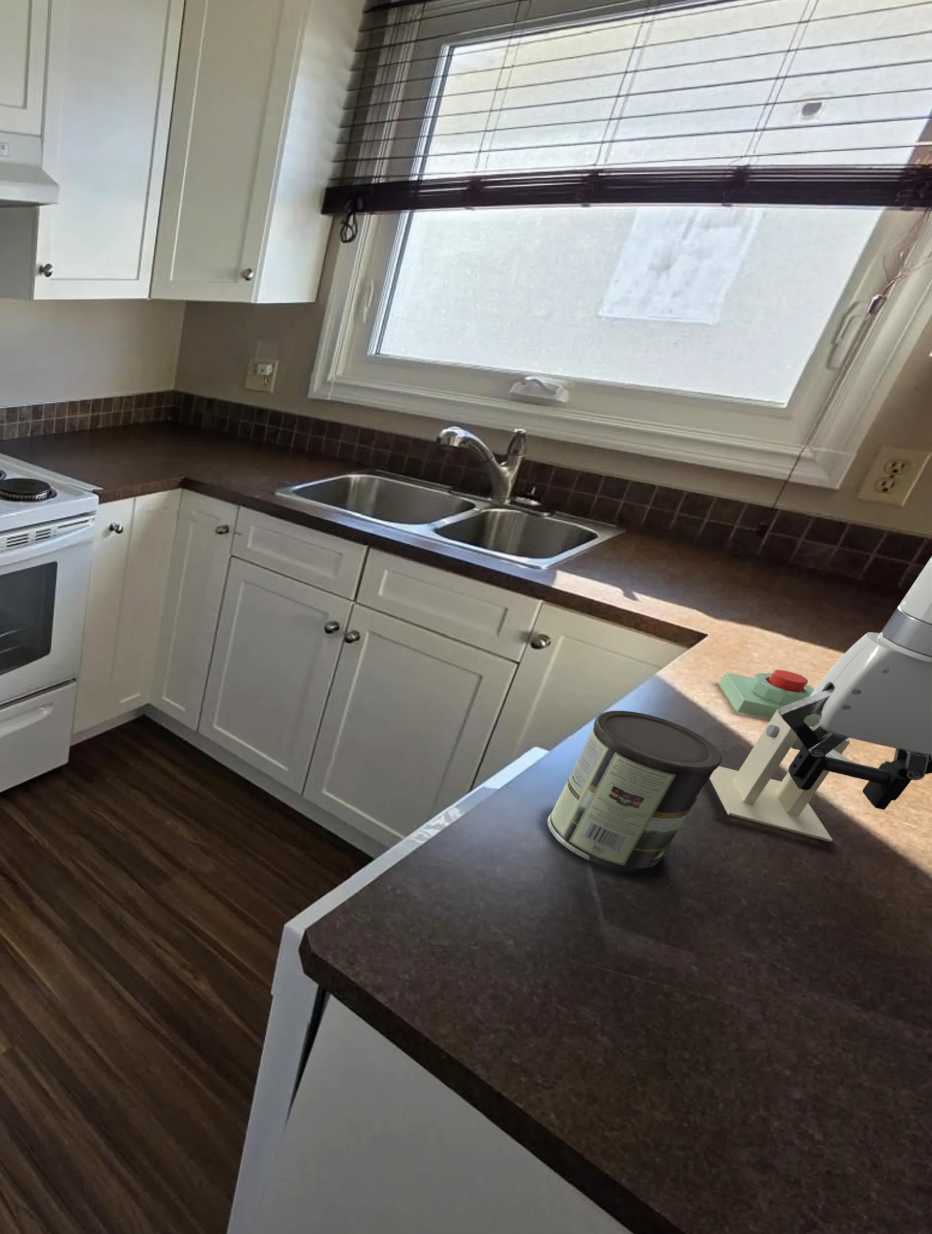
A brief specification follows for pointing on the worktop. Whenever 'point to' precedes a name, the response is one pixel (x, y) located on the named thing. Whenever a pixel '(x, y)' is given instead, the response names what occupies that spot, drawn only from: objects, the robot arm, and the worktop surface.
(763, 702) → the button box
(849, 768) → the lever
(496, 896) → the worktop surface
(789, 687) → the button
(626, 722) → the coffee can
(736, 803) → the bracket
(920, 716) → the robot arm
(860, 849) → the worktop surface
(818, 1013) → the worktop surface
